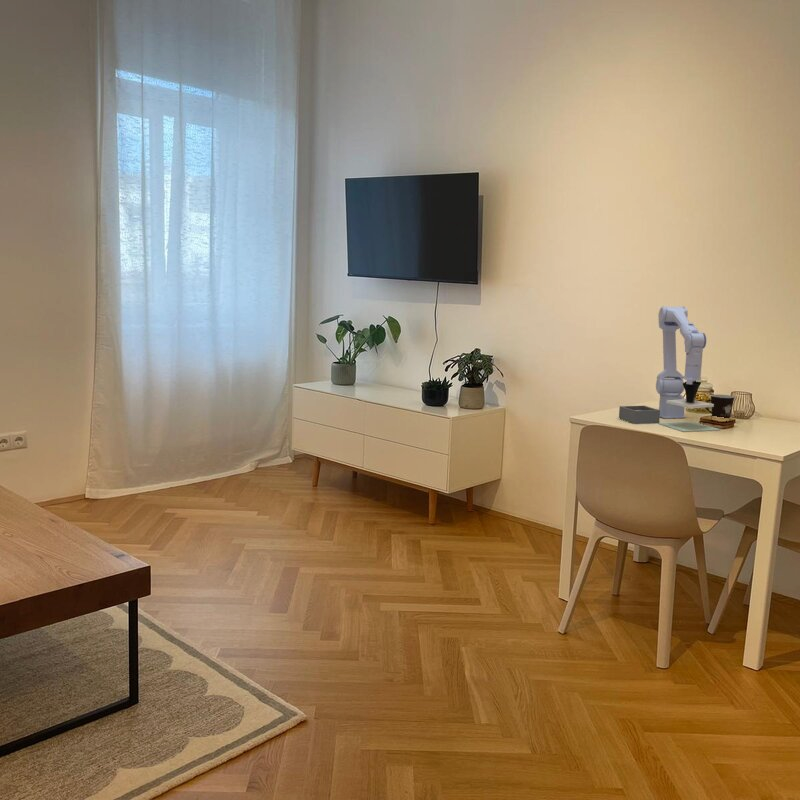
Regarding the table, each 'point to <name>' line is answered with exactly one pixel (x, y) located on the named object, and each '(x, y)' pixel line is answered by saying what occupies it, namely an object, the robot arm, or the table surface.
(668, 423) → the mat
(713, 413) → the coffee mug
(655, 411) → the box
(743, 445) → the table surface
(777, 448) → the table surface
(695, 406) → the lid
